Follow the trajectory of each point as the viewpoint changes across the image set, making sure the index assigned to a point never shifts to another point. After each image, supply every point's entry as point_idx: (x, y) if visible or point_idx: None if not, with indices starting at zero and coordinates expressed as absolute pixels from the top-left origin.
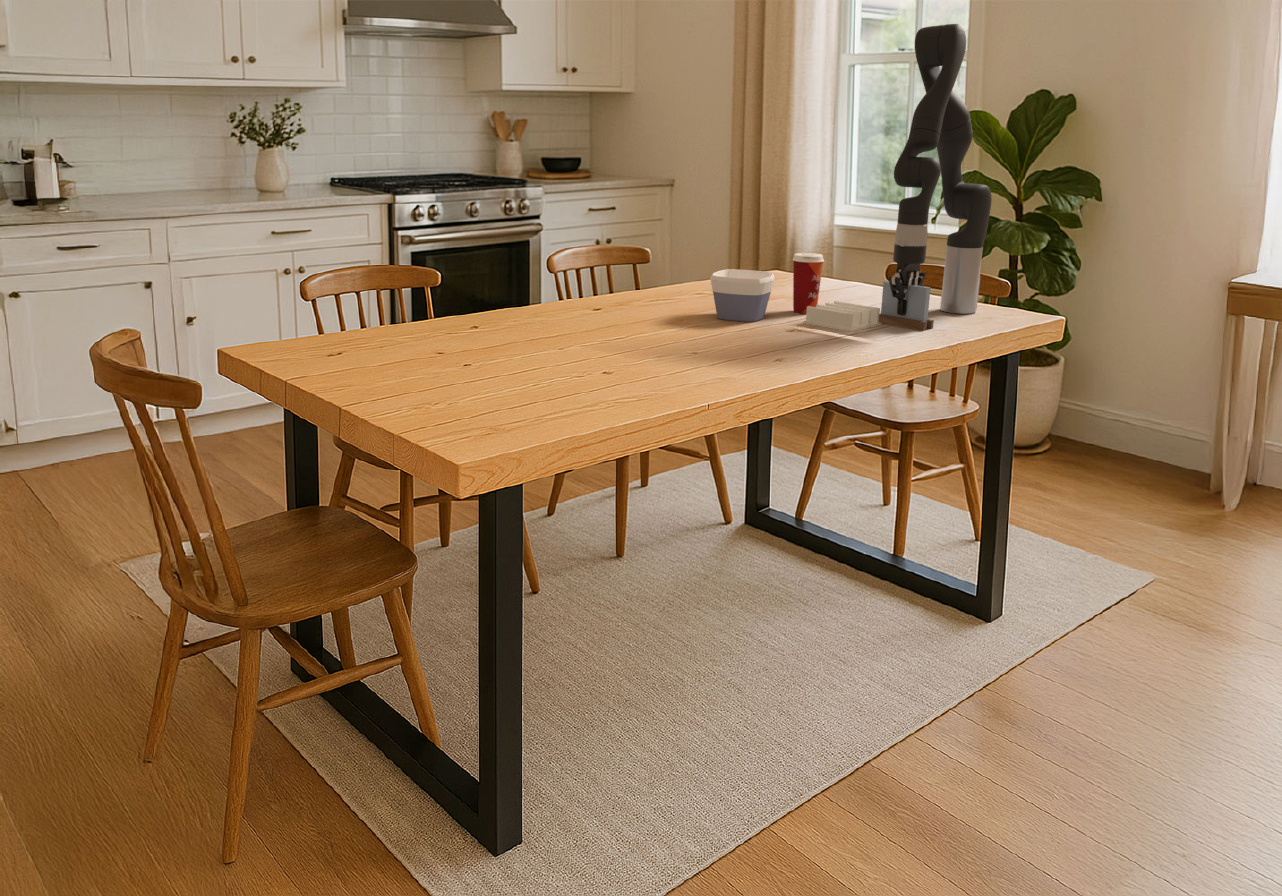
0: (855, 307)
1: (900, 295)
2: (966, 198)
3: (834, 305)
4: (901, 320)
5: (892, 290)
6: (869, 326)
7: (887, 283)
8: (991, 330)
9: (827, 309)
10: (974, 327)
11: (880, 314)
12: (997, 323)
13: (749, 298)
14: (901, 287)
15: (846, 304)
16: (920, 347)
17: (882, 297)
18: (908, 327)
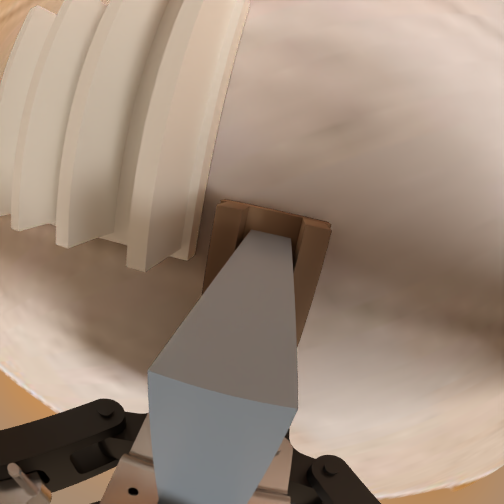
0: (79, 134)
1: (93, 444)
2: None
3: (106, 15)
4: None
5: (53, 423)
6: (101, 237)
7: (154, 414)
8: (368, 486)
9: (3, 88)
10: (393, 462)
11: (226, 242)
12: (455, 460)
13: None
14: (69, 479)
15: (177, 22)
16: (63, 403)
17: (217, 275)
18: None
